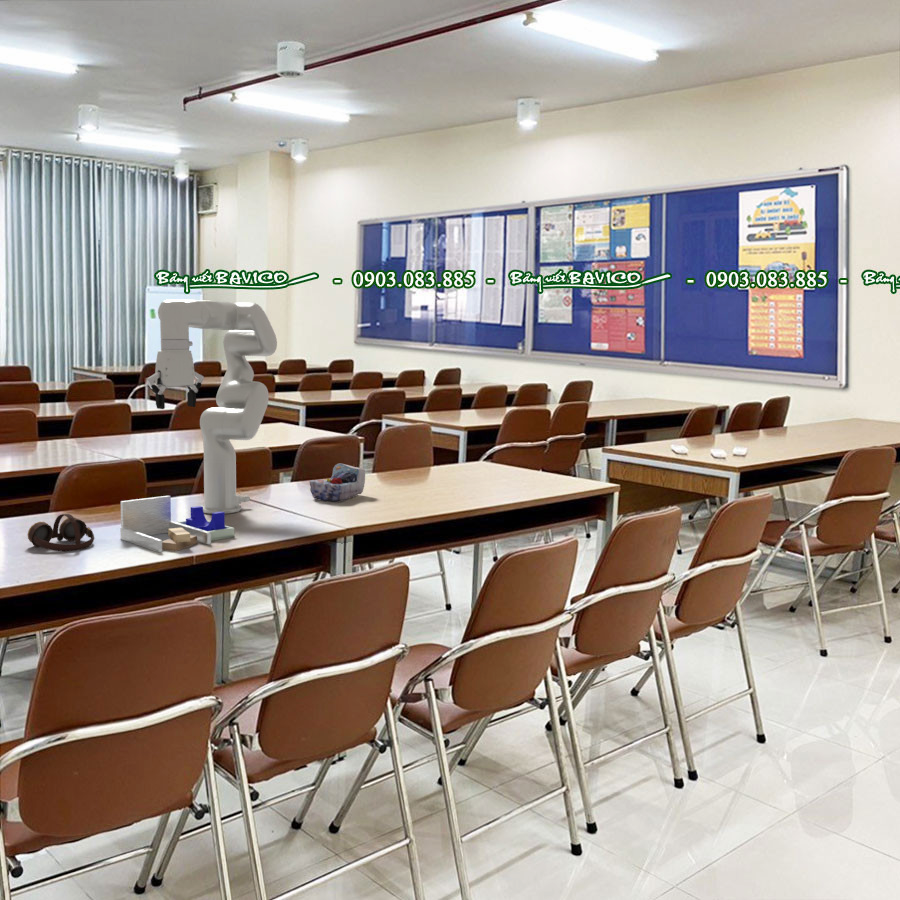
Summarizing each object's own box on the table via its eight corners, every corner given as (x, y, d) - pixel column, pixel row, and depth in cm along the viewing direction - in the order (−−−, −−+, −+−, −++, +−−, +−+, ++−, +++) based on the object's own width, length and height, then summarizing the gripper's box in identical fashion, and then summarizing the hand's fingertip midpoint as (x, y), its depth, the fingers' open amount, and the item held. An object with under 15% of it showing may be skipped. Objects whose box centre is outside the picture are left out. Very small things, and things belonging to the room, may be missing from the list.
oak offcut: (168, 536, 266) (168, 528, 266) (181, 535, 268) (181, 527, 268) (176, 542, 259) (176, 534, 259) (190, 541, 261) (190, 533, 261)
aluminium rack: (170, 531, 281) (169, 495, 280) (210, 543, 267) (210, 506, 266) (119, 538, 271) (118, 501, 270) (158, 552, 257) (157, 513, 255)
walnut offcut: (182, 543, 269) (182, 534, 269) (197, 545, 268) (197, 535, 267) (160, 551, 260) (160, 542, 259) (175, 553, 258) (175, 543, 258)
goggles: (78, 536, 272) (82, 501, 269) (105, 555, 264) (109, 519, 261) (23, 545, 260) (26, 509, 257) (49, 565, 252) (52, 528, 250)
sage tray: (201, 527, 287) (201, 518, 287) (234, 537, 276) (234, 527, 275) (174, 531, 281) (174, 522, 281) (206, 541, 270) (206, 532, 269)
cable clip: (186, 529, 282) (185, 507, 281) (200, 527, 285) (199, 505, 284) (210, 536, 273) (210, 514, 273) (224, 533, 277) (224, 512, 276)
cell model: (369, 463, 343) (339, 472, 325) (369, 495, 344) (339, 506, 326) (336, 460, 348) (304, 469, 330) (336, 491, 349) (304, 502, 331)
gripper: (194, 344, 290) (196, 404, 292) (139, 345, 277) (141, 408, 280) (209, 345, 285) (210, 406, 287) (153, 347, 272) (155, 410, 275)
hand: (176, 407), depth 283 cm, fingers open, 9 cm apart
